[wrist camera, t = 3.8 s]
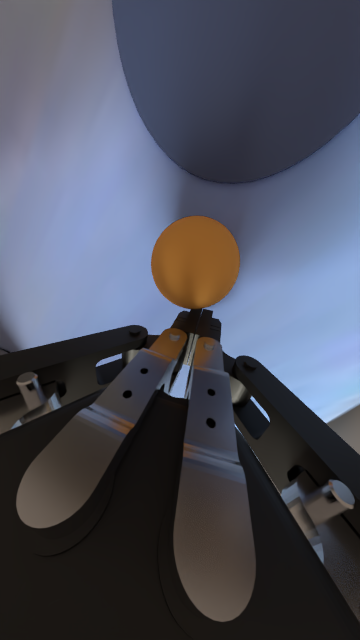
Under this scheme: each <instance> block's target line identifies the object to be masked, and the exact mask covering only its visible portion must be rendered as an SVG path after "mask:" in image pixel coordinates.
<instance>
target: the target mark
mask: <svg viewBox="0 0 360 640" xmlns="http://www.w3.org/2000/svg"><path fill="white" fill-rule="evenodd" d="M112 6H113V16H114V23H115V30H116V37H117V44H118V48H119V53H120V58H121V62H122V67H123V71H124V74H125V77H126V81H127V84H128V87H129V90H130V93H131V96H132V98H133V101H134V103H135V106H136V108H137V111H138V113H139V115H140V117H141V118H142V120H143V122H144V124H145V126H146V128H147V130H148V131H149V133H150V134H151V135H152V137H153V138H154V140H155V141H156V143H157V144H158V145H159V147H160V148H161V149H162V150H163V151H164V152H165V153H166V154H167V155H168V157H169V158H170V159H172V160H173V161H174V162H175V163H176V164H178V165H179V166H180V167H181V168H183V169H185V170H186V171H188V172H190V173H192V174H193V175H195V176H198V177H201V178H203V179H206V180H210V181H215V182H220V183H242V182H249V181H254V180H258V179H262V178H265V177H269V176H271V175H274V174H276V173H278V172H281V171H283V170H285V169H287V168H289V167H291V166H293V165H294V164H296V163H298V162H300V161H301V160H303V159H305V158H307V157H308V156H309V155H311V154H312V153H314V152H315V151H316V150H318V149H319V148H321V147H322V146H323V145H325V144H326V143H327V142H328V141H330V140H331V139H332V138H333V137H334V136H335V135H337V134H338V133H339V132H340V131H341V130H342V129H343V128H345V127H346V126H347V125H348V124H349V123H350V122H351V121H352V120H353V119H354V118H355V117H356V116H357V115H358V114H359V113H360V0H112Z"/></svg>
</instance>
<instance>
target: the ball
mask: <svg viewBox="0 0 360 640" xmlns="http://www.w3.org/2000/svg"><path fill="white" fill-rule="evenodd" d="M239 267H240V255H239V249H238V246H237V243H236V241H235V239H234V237H233V236H232V234H231V233H230V231H229V230H228V229H227V228H226V227H225V226H224V225H222V224H221V223H220V222H218V221H216V220H214V219H212V218H209V217H205V216H189V217H185V218H182V219H179V220H177V221H175V222H174V223H172V224H171V225H170V226H168V227H167V228H166V229H165V230H164V231H163V232H162V234H161V235H160V236H159V238H158V239H157V241H156V244H155V246H154V249H153V252H152V259H151V269H152V275H153V278H154V281H155V284H156V286H157V288H158V289H159V291H160V292H161V293H162V294H163V296H164V297H165V298H167V299H168V300H169V301H170V302H172V303H173V304H175V305H177V306H180V307H183V308H188V309H201V308H205V307H209V306H211V305H214V304H215V303H217V302H219V301H220V300H221V299H223V298H224V297H225V296H226V295H227V294H228V293H229V291H230V290H231V289H232V287H233V285H234V284H235V282H236V279H237V276H238V273H239Z"/></svg>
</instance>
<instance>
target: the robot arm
mask: <svg viewBox="0 0 360 640" xmlns="http://www.w3.org/2000/svg"><path fill="white" fill-rule="evenodd" d="M201 312H202V314H201ZM212 314H213V311H211V310H207V309H203V311H202V308H201V309H191V311H190V312H188V311H182V312H180V313H179V314H178V316H177V318H176V320H175V321H174V323H173V325H172V326H171V328H169V329H166V330H164V331H163V332H162V334H161V335H148V331H147V329H146V328H144V327H142V326H139V325H130V326H126V327H121V328H117V329H113V330H108V331H104V332H99V333H95V334H91V335H86V336H82V337H78V338H73V339H69V340H65V341H60V342H56V343H52V344H47V345H43V346H38V347H34V348H30V349H25V350H21V351H17V352H12V353H7V352H6V351H3V350H1V349H0V640H360V455H359V454H358V453H357V452H356V451H355V450H354V449H353V448H351V447H350V446H349V445H348V444H347V443H346V442H345V441H344V440H343V439H342V438H341V437H340V436H339V435H337V434H336V433H335V432H334V431H333V430H332V429H331V428H330V427H329V426H328V425H327V424H326V423H325V422H323V421H322V420H321V419H320V418H319V417H318V416H317V415H316V414H315V413H314V412H313V411H312V410H311V409H309V408H308V407H307V406H306V405H305V404H304V403H303V402H302V401H301V400H300V399H299V398H298V397H296V396H295V395H294V394H293V393H292V392H291V391H290V390H289V389H288V388H287V387H286V386H285V385H284V384H282V383H281V382H280V381H279V380H278V379H277V378H276V377H275V376H274V375H273V374H272V373H271V372H270V371H268V370H267V369H266V368H265V367H264V366H263V365H262V364H261V363H260V362H259V361H257V360H256V359H254V358H252V357H249V356H238V357H237V358H236V359H234V358H232V357H230V356H228V355H227V354H226V353H224V352H223V351H222V346H221V344H220V337H221V322H220V321H219V319H215V318H212ZM200 316H201V317H200ZM190 352H191V353H190ZM121 353H122V358H121V359H118V360H115V361H112V362H109V363H107V364H104V365H101V366H98V367H95V366H96V364H97V363H98V362H99V361H100V360H102V359H105V358H108V357H111V356H114V355H118V354H121ZM189 355H190V357H189ZM188 358H189V361H188ZM187 362H188V366H190V370H189V374H188V378H187V383H186V389H185V395H184V398H175V397H172V396H170V393H171V391H172V389H173V386H174V384H175V382H176V380H177V378H178V375H179V373H180V370H181V368H182V365H183V364H185V365H187ZM251 396H253V397H254V398H255V400H256V401H257V402H258V403H259V404H260V406H261V407H262V408H263V409H264V410H265V411H266V413H267V414H268V416H269V419H270V422H269V421H268V420H267V418H266V417H265V416H264V415H263V414H262V412H261V411H260V410H259V409H258V408H257V406H256V405H255V404H254V403H253V401H252V400H251V399H250V398H251ZM234 423H235V424H236V426H237V427H238V429H239V430H240V432H241V433H242V434H241V433H240V432H239V430H238V429H237V428H236V427H235V424H234ZM250 447H251V448H250ZM252 450H253V451H252ZM254 453H255V454H254ZM255 455H256V456H257V457H256V456H255ZM257 458H258V459H259V460H258V459H257ZM259 461H260V462H261V464H262V465H263V467H264V468H265V470H266V471H267V473H268V474H269V476H270V477H271V479H272V481H273V482H274V483H275V485H276V487H277V488H278V490H279V491H280V493H281V494H282V496H280V494H279V492H278V491H277V489H276V488H275V486H274V484H273V483H272V481H271V480H270V478H269V477H268V475H267V473H266V472H265V470H264V469H263V467H262V465H261V464H260V462H259Z"/></svg>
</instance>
